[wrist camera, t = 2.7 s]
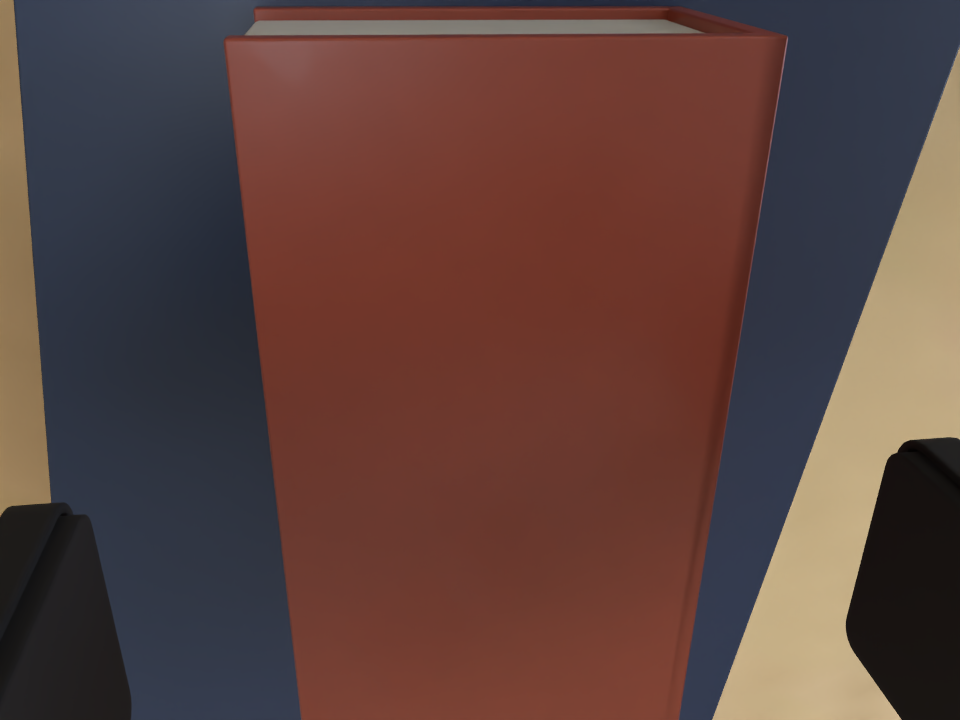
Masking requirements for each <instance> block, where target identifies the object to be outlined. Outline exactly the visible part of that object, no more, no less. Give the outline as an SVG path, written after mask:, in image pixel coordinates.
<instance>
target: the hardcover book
mask: <svg viewBox="0 0 960 720" xmlns="http://www.w3.org/2000/svg"><path fill="white" fill-rule="evenodd" d="M289 6H681V7H685V8H688V9H692V10H696V11H699V12H703V13H707V14H710V15H714V16H717V17H721V18H725V19H728V20H732V21H735V22H739V23H743V24H746V25H750V26H754V27H757V28H761V29H764V30H768V31H772V32H775V33H779V34H783V35H786V36H787V37H788V42H787V48H786V55H785V61H784V67H783V73H782V80H781V86H780V92H779V98H778V104H777V111H776V117H775V123H774V129H773V136H772V142H771V148H770V154H769V161H768V167H767V173H766V179H765V185H764V192H763V198H762V204H761V210H760V217H759V223H758V229H757V235H756V242H755V248H754V254H753V260H752V267H751V273H750V279H749V285H748V291H747V298H746V304H745V310H744V316H743V323H742V329H741V335H740V341H739V348H738V354H737V360H736V366H735V372H734V379H733V385H732V391H731V397H730V404H729V410H728V416H727V422H726V429H725V435H724V441H723V447H722V454H721V460H720V466H719V472H718V478H717V485H716V491H715V497H714V503H713V510H712V516H711V522H710V528H709V535H708V541H707V547H706V553H705V560H704V566H703V572H702V578H701V584H700V591H699V597H698V603H697V609H696V616H695V622H694V628H693V634H692V641H691V647H690V653H689V659H688V665H687V672H686V678H685V684H684V690H683V697H682V703H681V709H680V715H679V720H712V719H713V716H714V713H715V710H716V708H717V705H718V702H719V700H720V697H721V694H722V691H723V689H724V686H725V683H726V681H727V678H728V675H729V672H730V670H731V667H732V664H733V662H734V659H735V656H736V653H737V651H738V648H739V645H740V643H741V640H742V637H743V634H744V632H745V629H746V626H747V623H748V621H749V618H750V615H751V613H752V610H753V607H754V604H755V602H756V599H757V596H758V594H759V591H760V588H761V585H762V583H763V580H764V577H765V575H766V572H767V569H768V566H769V564H770V561H771V558H772V556H773V553H774V550H775V547H776V545H777V542H778V539H779V536H780V534H781V531H782V528H783V526H784V523H785V520H786V517H787V515H788V512H789V509H790V507H791V504H792V501H793V498H794V496H795V493H796V490H797V488H798V485H799V482H800V479H801V477H802V474H803V471H804V469H805V466H806V463H807V460H808V458H809V455H810V452H811V449H812V447H813V444H814V441H815V439H816V436H817V433H818V430H819V428H820V425H821V422H822V420H823V417H824V414H825V411H826V409H827V406H828V403H829V401H830V398H831V395H832V392H833V390H834V387H835V384H836V382H837V379H838V376H839V373H840V371H841V368H842V365H843V362H844V360H845V357H846V354H847V352H848V349H849V346H850V343H851V341H852V338H853V335H854V333H855V330H856V327H857V324H858V322H859V319H860V316H861V314H862V311H863V308H864V305H865V303H866V300H867V297H868V295H869V292H870V289H871V286H872V284H873V281H874V278H875V275H876V273H877V270H878V267H879V265H880V262H881V259H882V256H883V254H884V251H885V248H886V246H887V243H888V240H889V237H890V235H891V232H892V229H893V227H894V224H895V221H896V218H897V216H898V213H899V210H900V208H901V205H902V202H903V199H904V197H905V194H906V191H907V188H908V186H909V183H910V180H911V178H912V175H913V172H914V169H915V167H916V164H917V161H918V159H919V156H920V153H921V150H922V148H923V145H924V142H925V140H926V137H927V134H928V131H929V129H930V126H931V123H932V121H933V118H934V115H935V112H936V110H937V107H938V104H939V101H940V99H941V96H942V93H943V91H944V88H945V85H946V82H947V80H948V77H949V74H950V72H951V69H952V66H953V63H954V61H955V58H956V55H957V53H958V50H959V47H960V0H14V11H15V25H16V38H17V51H18V65H19V78H20V91H21V105H22V118H23V131H24V145H25V158H26V171H27V185H28V198H29V211H30V225H31V238H32V251H33V265H34V278H35V291H36V305H37V318H38V331H39V345H40V358H41V371H42V385H43V398H44V411H45V425H46V438H47V451H48V465H49V478H50V491H51V503H61V502H65V503H67V504H68V505H69V506H70V508H71V509H72V512H73V515H80V514H85V515H87V516H88V517H89V519H90V521H91V524H92V527H93V532H94V536H95V540H96V545H97V549H98V553H99V558H100V562H101V566H102V571H103V575H104V579H105V584H106V588H107V592H108V597H109V601H110V605H111V610H112V614H113V619H114V623H115V627H116V632H117V636H118V640H119V645H120V649H121V653H122V658H123V662H124V666H125V671H126V675H127V679H128V684H129V688H130V693H131V703H132V710H131V720H301V713H300V704H299V696H298V687H297V678H296V670H295V661H294V652H293V644H292V635H291V626H290V617H289V609H288V600H287V591H286V583H285V574H284V565H283V556H282V548H281V539H280V530H279V522H278V513H277V504H276V496H275V487H274V478H273V469H272V461H271V452H270V443H269V435H268V426H267V417H266V408H265V400H264V391H263V382H262V374H261V365H260V356H259V348H258V339H257V330H256V321H255V313H254V304H253V295H252V287H251V278H250V269H249V260H248V252H247V243H246V234H245V226H244V217H243V208H242V200H241V191H240V182H239V173H238V165H237V156H236V147H235V139H234V130H233V121H232V112H231V104H230V95H229V86H228V78H227V69H226V60H225V52H224V43H223V42H224V39H225V38H226V37H227V36H229V35H245V34H246V33H247V31H248V30H249V29H250V28H251V27H252V25H253V24H254V23H255V22H254V12H253V11H254V8H255V7H289Z"/></svg>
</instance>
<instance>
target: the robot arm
mask: <svg viewBox="0 0 960 720" xmlns="http://www.w3.org/2000/svg"><path fill="white" fill-rule="evenodd" d="M846 633H847V637H848V641H849V643H850V646H851V648H852V650H853V651H854V653H855V654H856V656H857V657H858V659H859V660H860V661H861V663H862V664H863V666H864V667H865V668H866V670H867V671H868V673H869V674H870V676H871V677H872V678H873V680H874V681H875V683H876V684H877V685H878V687H879V688H880V690H881V691H882V692H883V694H884V695H885V697H886V698H887V699H888V701H889V702H890V704H891V705H892V707H893V708H894V709H895V711H896V712H897V714H898V715H899V716H900V718H901V719H902V720H960V440H959V439H958V438H951V437H947V438H934V439H920V440H909V441H907V442H905V443H903V444H902V446H901V447H900V448H899V450H898V452H897V453H895V454H893V455H891V456H890V457H889V458H888V460H887V463H886V466H885V470H884V473H883V477H882V481H881V485H880V489H879V493H878V497H877V501H876V505H875V509H874V513H873V517H872V520H871V524H870V528H869V532H868V536H867V540H866V544H865V548H864V552H863V556H862V560H861V564H860V568H859V571H858V575H857V579H856V583H855V587H854V591H853V595H852V599H851V603H850V607H849V611H848V615H847V619H846ZM131 710H132V703H131V693H130V688H129V684H128V679H127V675H126V671H125V666H124V662H123V658H122V653H121V649H120V645H119V640H118V636H117V632H116V627H115V623H114V619H113V614H112V610H111V605H110V601H109V597H108V592H107V588H106V584H105V579H104V575H103V571H102V566H101V562H100V558H99V553H98V549H97V545H96V540H95V536H94V532H93V527H92V524H91V521H90V519H89V517H88V516H87V515H85V514H80V515H73V512H72V509H71V508H70V506H69V505H68V504H67V503H65V502H61V503H47V504H34V505H20V506H11V507H8V508H7V509H6V510H5V511H4V512H3V514H2V515H1V517H0V720H131Z"/></svg>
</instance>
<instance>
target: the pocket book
mask: <svg viewBox="0 0 960 720" xmlns="http://www.w3.org/2000/svg"><path fill="white" fill-rule="evenodd" d="M253 12H254V22H255V23H254V24H253V25H252V27H251V28H250V29H249V30H248V31H247V33H246V34H245V35H229V36H227V37H226V38H225V39H224V42H223V43H224V52H225V60H226V69H227V78H228V86H229V95H230V104H231V112H232V121H233V130H234V139H235V147H236V156H237V165H238V173H239V182H240V191H241V200H242V208H243V217H244V226H245V234H246V243H247V252H248V260H249V269H250V278H251V287H252V295H253V304H254V313H255V321H256V330H257V339H258V348H259V356H260V365H261V374H262V382H263V391H264V400H265V408H266V417H267V426H268V435H269V443H270V452H271V461H272V469H273V478H274V487H275V496H276V504H277V513H278V522H279V530H280V539H281V548H282V556H283V565H284V574H285V583H286V591H287V600H288V609H289V617H290V626H291V635H292V644H293V652H294V661H295V670H296V678H297V687H298V696H299V704H300V713H301V720H679V715H680V709H681V703H682V697H683V690H684V684H685V678H686V672H687V665H688V659H689V653H690V647H691V641H692V634H693V628H694V622H695V616H696V609H697V603H698V597H699V591H700V584H701V578H702V572H703V566H704V560H705V553H706V547H707V541H708V535H709V528H710V522H711V516H712V510H713V503H714V497H715V491H716V485H717V478H718V472H719V466H720V460H721V454H722V447H723V441H724V435H725V429H726V422H727V416H728V410H729V404H730V397H731V391H732V385H733V379H734V372H735V366H736V360H737V354H738V348H739V341H740V335H741V329H742V323H743V316H744V310H745V304H746V298H747V291H748V285H749V279H750V273H751V267H752V260H753V254H754V248H755V242H756V235H757V229H758V223H759V217H760V210H761V204H762V198H763V192H764V185H765V179H766V173H767V167H768V161H769V154H770V148H771V142H772V136H773V129H774V123H775V117H776V111H777V104H778V98H779V92H780V86H781V80H782V73H783V67H784V61H785V55H786V48H787V42H788V37H787V36H786V35H783V34H779V33H775V32H772V31H768V30H764V29H761V28H757V27H754V26H750V25H746V24H743V23H739V22H735V21H732V20H728V19H725V18H721V17H717V16H714V15H710V14H707V13H703V12H699V11H696V10H692V9H688V8H685V7H681V6H289V7H255V8H254V11H253Z"/></svg>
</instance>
